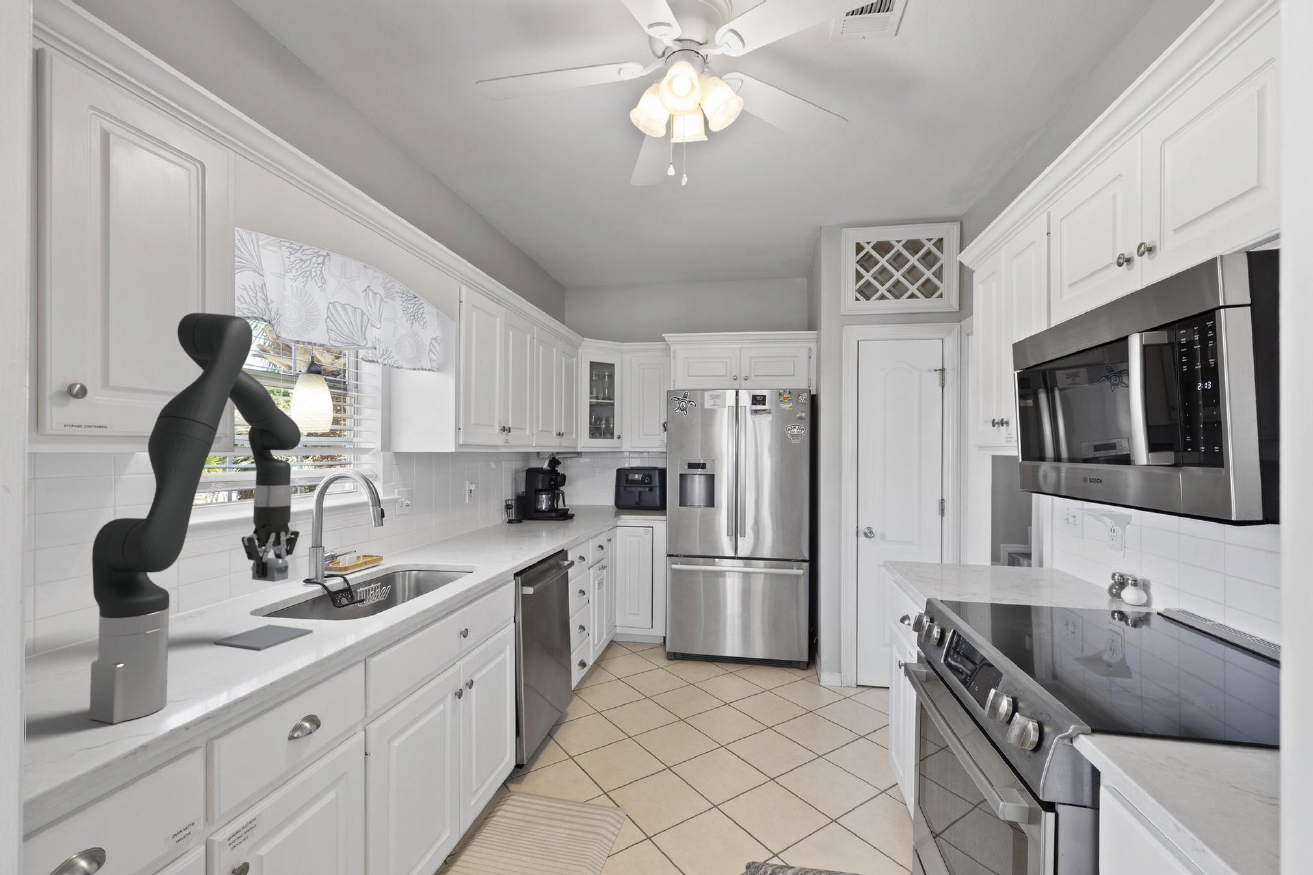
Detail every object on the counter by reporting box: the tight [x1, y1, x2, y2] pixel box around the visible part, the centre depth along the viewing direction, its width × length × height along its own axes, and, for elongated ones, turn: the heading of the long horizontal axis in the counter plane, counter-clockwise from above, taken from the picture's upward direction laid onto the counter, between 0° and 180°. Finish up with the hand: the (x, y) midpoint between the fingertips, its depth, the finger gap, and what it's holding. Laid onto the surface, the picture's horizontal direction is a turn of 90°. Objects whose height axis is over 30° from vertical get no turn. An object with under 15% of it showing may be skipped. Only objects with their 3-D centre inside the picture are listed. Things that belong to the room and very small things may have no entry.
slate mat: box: [213, 624, 314, 651], centre depth 144 cm, size 14×14×1 cm
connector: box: [250, 557, 289, 582], centre depth 145 cm, size 4×8×5 cm, turn 72°
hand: (270, 575), depth 144 cm, fingers closed on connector, 3 cm apart
